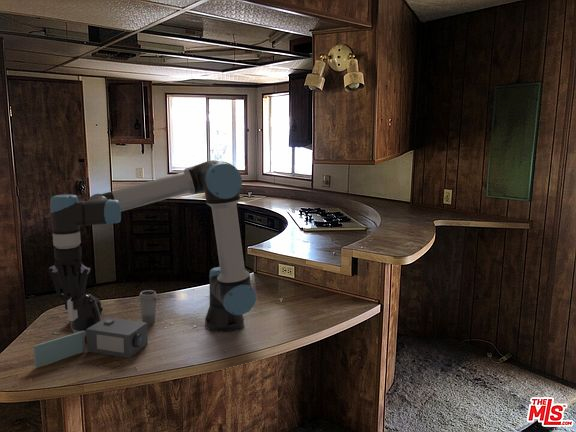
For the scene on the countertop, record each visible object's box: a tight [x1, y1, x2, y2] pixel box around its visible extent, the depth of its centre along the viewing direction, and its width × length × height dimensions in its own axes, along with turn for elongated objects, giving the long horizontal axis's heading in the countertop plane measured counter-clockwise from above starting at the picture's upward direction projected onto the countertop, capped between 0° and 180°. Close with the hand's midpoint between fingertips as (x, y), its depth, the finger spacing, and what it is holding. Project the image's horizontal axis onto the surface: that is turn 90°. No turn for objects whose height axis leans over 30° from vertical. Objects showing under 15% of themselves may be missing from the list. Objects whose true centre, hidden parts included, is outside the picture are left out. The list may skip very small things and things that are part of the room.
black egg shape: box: [70, 293, 102, 338], centre depth 165 cm, size 10×10×15 cm
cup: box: [138, 289, 158, 325], centre depth 178 cm, size 7×7×12 cm
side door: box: [33, 331, 86, 368], centre depth 147 cm, size 16×2×7 cm, turn 139°
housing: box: [86, 316, 149, 359], centre depth 156 cm, size 18×11×9 cm, turn 76°
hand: (73, 319), depth 143 cm, fingers closed
